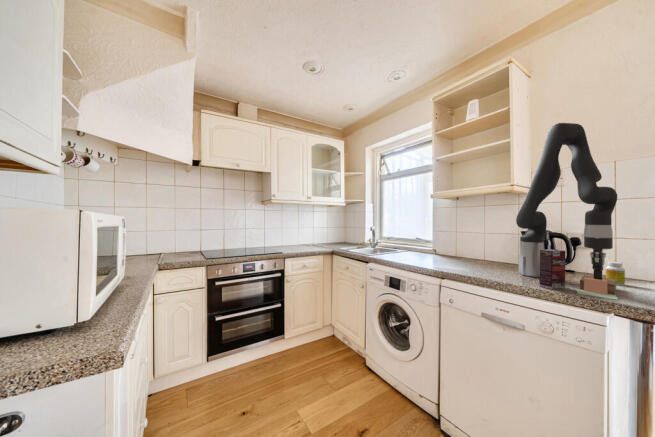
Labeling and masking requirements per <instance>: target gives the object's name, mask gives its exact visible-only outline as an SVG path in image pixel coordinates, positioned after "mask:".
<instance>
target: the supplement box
mask: <svg viewBox="0 0 655 437" xmlns="http://www.w3.org/2000/svg"><path fill="white" fill-rule="evenodd" d="M566 251H567V250H564V249H557V248H556V249H553V248H551V249H544V250H540V277H539V280H538V281H539V284H538V286H539V287H541V288H544V287H545V288H546V289H548V290H549V289H550V290H555V289H565V288H566V253H567V252H566Z"/></svg>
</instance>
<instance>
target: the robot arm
mask: <svg viewBox="0 0 655 437" xmlns="http://www.w3.org/2000/svg"><path fill="white" fill-rule="evenodd" d="M563 146H567V147H568V149H569V150H570V152H571V155H572V156H571V157H572V158H571V162H570V170H571V172H572V174H573V176H574V178H575V180H576V182H577V183H576V184H577V194H578V197H579V200H581V202H583V204H587V205H593V209H591V210H588V211H586V212H585V213H584V230H583V247H584V248H586V249H592V251H591V252H589V253H590V254H589V257H590V262H591V263H590V264H591V265H592V267H591V268H592V269H593V276H594V279H599V280H602V278H603V270H604V265H605V264H606V263H605V262H606V257H607V255H606V252H603V250H612V249H613V247H614V246H613V245H614V244H613V236H614V235H613V227H612V214H613V212H614V210H615V207H616V205H617V201H618V194H617V190H615V189H614V188H613V187H611V186H598V184H597V183H598V182H600V181H601V180H602V178H603V177H602V174H601V172H600V169H599V168H598V166H597V164H596V163H595V160H594V159H593V156H592V154H591V150H590V145H589V143H588V138H587V134H586V131H585V128H584V127H583V125H582V124H579V123H572V122H571V123H570V122H569V123H568V122H558V123H555V124H554V125H553V126H551V128H549V131H548V132H547V135H546V138H545V141H544V145H543V150H542V154H541V157H540V160H539V163H538V165H537V167H536V168H537V169H536V170H535V173H534V175H533V178H532V181H531V184H530V187H529V190H528V192H527V194H526V196H525V199H524V202H522V205H521V207H520V208H519V211H518V213H517V215H516V218H515V222H516V225H517V227H519V229H523V230H524V229H525V230H527V231H526V233H524V234H522V235H521V236H520V238H519V239H520V240H519V255H518V274H520V275H522V276H526V277H527V276H528V277H535V278H536V277H537V278H540V250H545V249H544V246H545V245H544V244H545V242H544V240H545V238H546V236H547V224H548V223H547V222H548V221H547V217H546V215H545V213H543V212H542V211H540V210H539V211H537V210H538V209H539V206H540V205H541V203H542V202H543V201H545V199H547V197H548V196H550V195H551V194H552V193H553V192H554V191H555V189H556V187H557V185H558V183H559V180H560V178H561V174H562V172H561V166H560V160H559V158H560V157H559V156H560V153H561V149H562V147H563Z"/></svg>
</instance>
